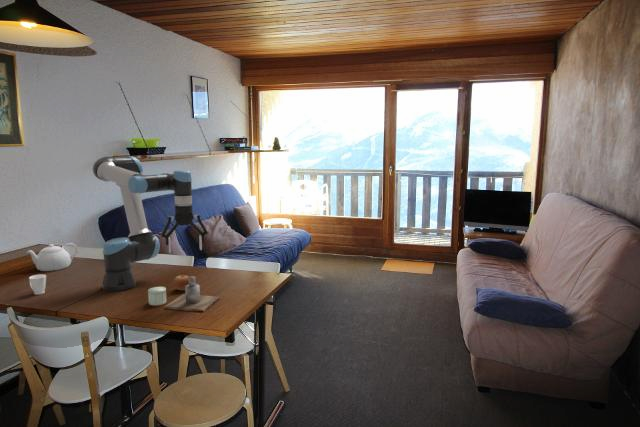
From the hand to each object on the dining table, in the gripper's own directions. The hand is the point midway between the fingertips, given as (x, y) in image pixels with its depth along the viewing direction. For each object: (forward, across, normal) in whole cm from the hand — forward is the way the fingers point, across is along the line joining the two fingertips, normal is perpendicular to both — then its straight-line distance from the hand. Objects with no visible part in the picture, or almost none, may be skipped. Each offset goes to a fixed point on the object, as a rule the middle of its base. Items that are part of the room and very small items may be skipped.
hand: (185, 250), depth 201 cm
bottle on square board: (+21, +1, -14) cm, 25 cm away
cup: (+22, -66, +29) cm, 75 cm away
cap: (+21, -13, -6) cm, 25 cm away
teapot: (+22, -66, +75) cm, 102 cm away
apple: (+21, -2, +7) cm, 22 cm away
